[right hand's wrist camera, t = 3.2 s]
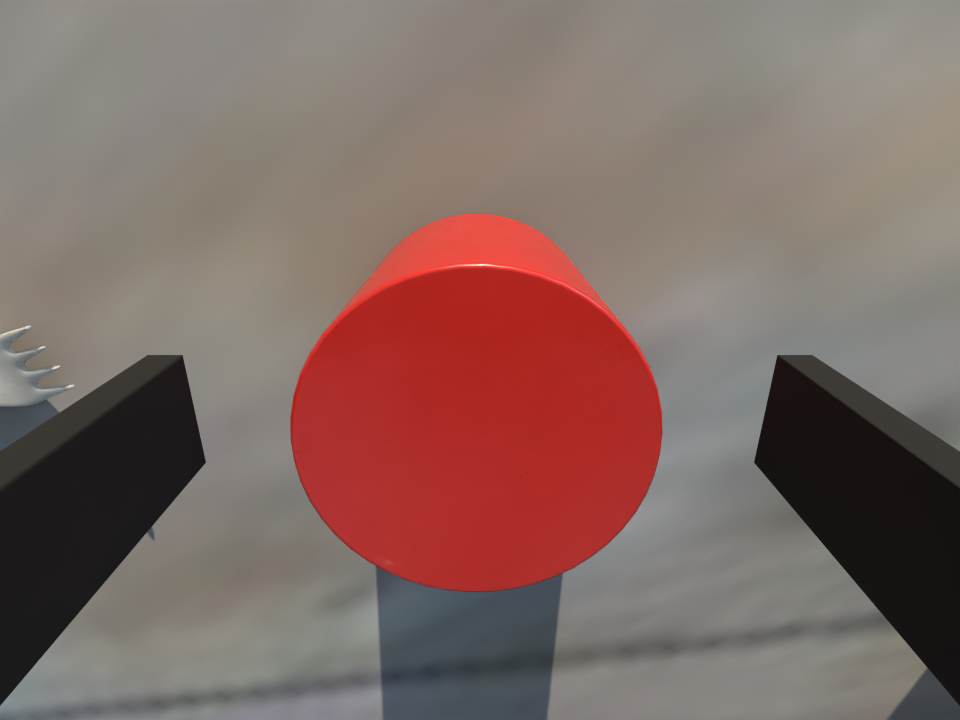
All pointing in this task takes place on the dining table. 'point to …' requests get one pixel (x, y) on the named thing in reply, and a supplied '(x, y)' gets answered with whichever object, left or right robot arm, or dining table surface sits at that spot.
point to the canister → (476, 412)
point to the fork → (22, 374)
